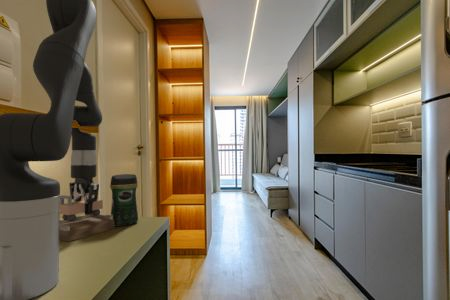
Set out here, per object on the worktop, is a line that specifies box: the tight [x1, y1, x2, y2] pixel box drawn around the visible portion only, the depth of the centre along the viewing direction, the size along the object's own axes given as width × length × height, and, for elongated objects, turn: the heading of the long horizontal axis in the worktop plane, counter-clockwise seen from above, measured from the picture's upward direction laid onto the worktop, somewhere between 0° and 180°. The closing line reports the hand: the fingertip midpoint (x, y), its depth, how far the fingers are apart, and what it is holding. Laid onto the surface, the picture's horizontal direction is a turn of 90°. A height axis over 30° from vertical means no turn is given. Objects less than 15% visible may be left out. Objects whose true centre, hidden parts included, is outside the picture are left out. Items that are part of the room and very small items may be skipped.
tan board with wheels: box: [60, 194, 104, 222], centre depth 77 cm, size 11×6×8 cm, turn 151°
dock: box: [59, 213, 115, 243], centre depth 77 cm, size 15×12×4 cm
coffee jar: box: [109, 173, 139, 227], centre depth 86 cm, size 10×8×19 cm
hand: (83, 213), depth 77 cm, fingers closed on tan board with wheels, 5 cm apart
